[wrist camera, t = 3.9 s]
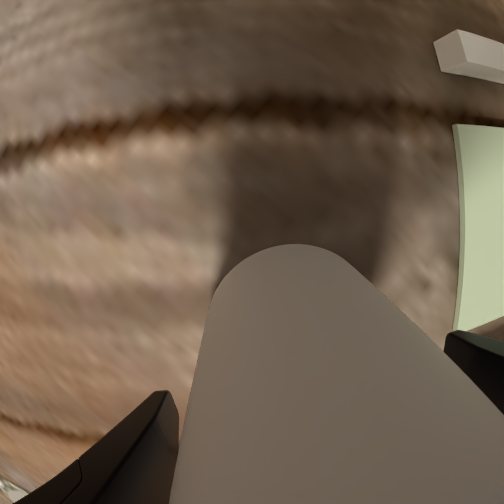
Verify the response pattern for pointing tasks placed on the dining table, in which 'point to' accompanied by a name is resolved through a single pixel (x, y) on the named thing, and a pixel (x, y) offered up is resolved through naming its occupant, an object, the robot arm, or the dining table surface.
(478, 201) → the front pad
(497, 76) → the rails
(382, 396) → the beverage can
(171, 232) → the dining table surface
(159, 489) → the robot arm
